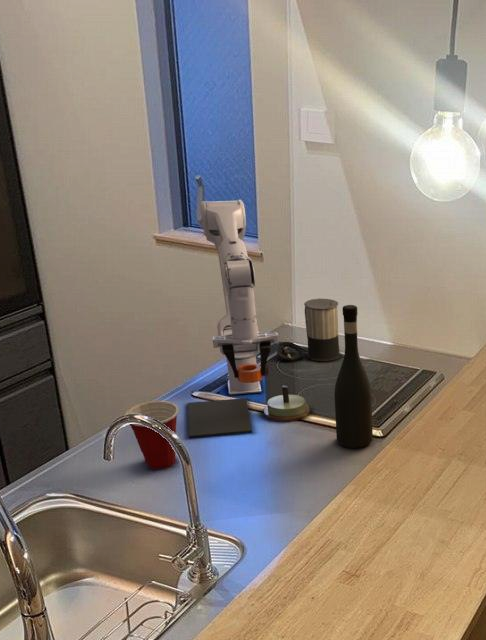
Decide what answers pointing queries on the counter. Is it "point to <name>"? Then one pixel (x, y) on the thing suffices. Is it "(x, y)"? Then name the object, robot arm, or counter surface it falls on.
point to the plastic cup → (155, 433)
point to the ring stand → (286, 407)
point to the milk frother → (317, 332)
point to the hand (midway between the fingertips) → (249, 375)
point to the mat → (218, 418)
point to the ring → (249, 373)
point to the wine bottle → (352, 390)
